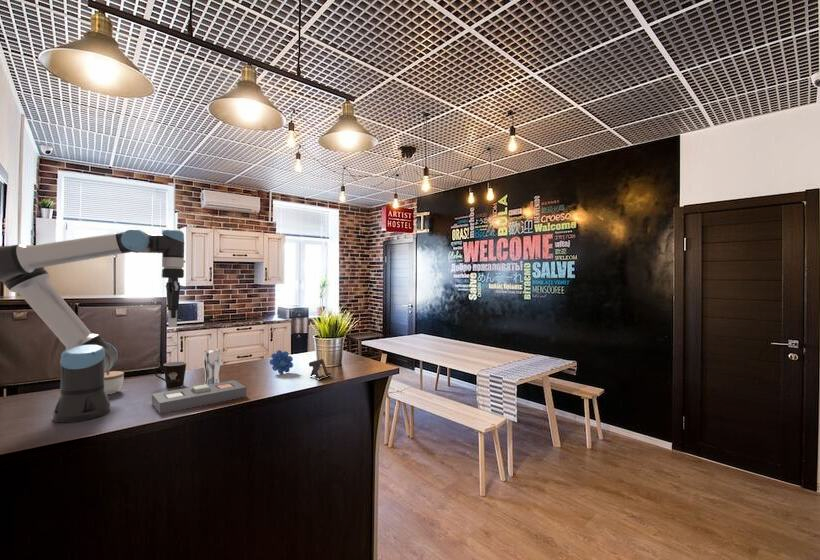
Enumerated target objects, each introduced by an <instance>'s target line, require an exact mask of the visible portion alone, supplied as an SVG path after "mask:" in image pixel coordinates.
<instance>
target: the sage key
mask: <svg viewBox="0 0 820 560" xmlns="http://www.w3.org/2000/svg"><path fill="white" fill-rule="evenodd" d="M191 387H192V392H193V393H194V394H195V393H201V392H206V391H210V387H209V386H208V385H206V384H205V385H204V384H200V385H194V386H191Z"/></svg>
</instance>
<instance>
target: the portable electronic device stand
mask: <svg viewBox="0 0 820 560" xmlns="http://www.w3.org/2000/svg"><path fill="white" fill-rule="evenodd" d="M308 366H309V367H310V368H311V367H312V370H311V372H310V375H309V377H310V376H312V375H313V376H314V375H316V376H315V379H316V378H319V379H320V378H322V377H325V375H326V376H328V375H331V376H332V372H328V368H327V366H326V363H325V361H324V359H323V358H320V359H316V360H313V361H310V362H309V363H308ZM320 366H322V369H323V373H324V374H322V375H320V374H319V369H320ZM313 376H312V377H313Z"/></svg>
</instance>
